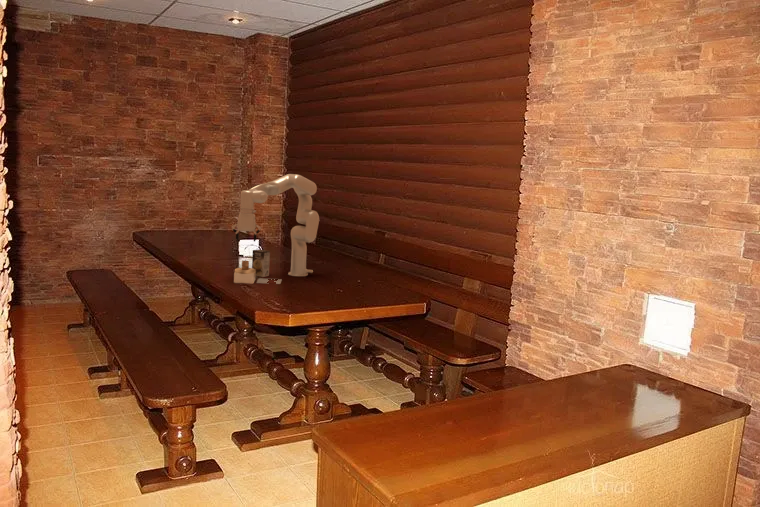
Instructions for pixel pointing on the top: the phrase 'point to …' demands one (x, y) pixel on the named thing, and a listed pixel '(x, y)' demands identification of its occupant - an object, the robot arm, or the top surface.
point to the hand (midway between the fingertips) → (246, 240)
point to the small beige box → (244, 278)
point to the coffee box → (261, 262)
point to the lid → (245, 268)
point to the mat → (268, 280)
